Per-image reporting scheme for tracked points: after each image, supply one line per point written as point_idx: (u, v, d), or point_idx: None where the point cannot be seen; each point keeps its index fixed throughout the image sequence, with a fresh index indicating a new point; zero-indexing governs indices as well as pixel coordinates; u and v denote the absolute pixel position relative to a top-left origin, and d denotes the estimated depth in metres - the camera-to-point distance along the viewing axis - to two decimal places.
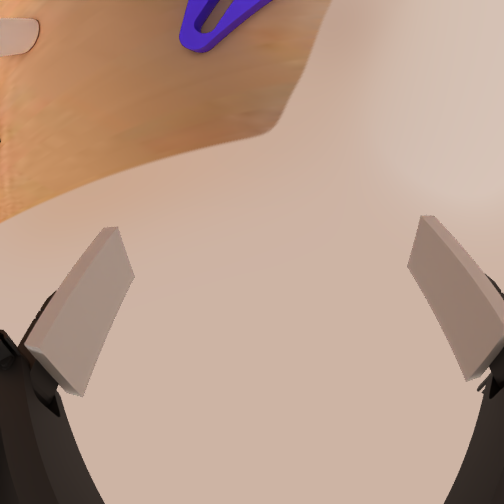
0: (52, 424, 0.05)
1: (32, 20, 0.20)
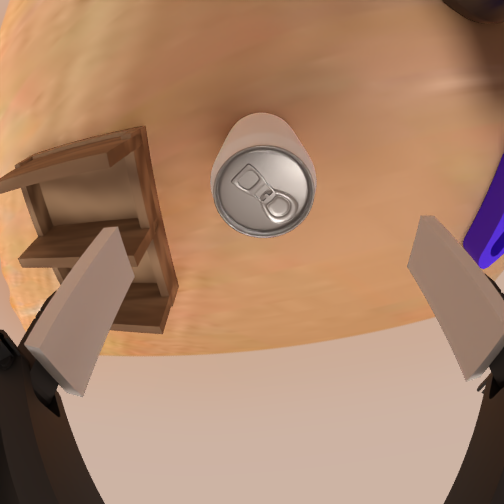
0: (52, 424, 0.05)
1: None
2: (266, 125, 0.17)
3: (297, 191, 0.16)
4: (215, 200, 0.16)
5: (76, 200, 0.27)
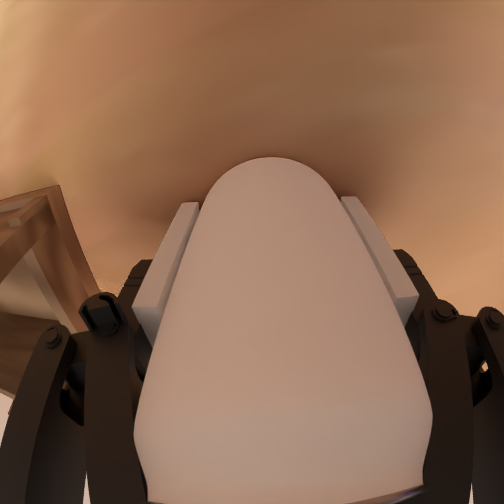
0: None
1: None
2: (303, 276, 0.05)
3: None
4: None
5: (1, 288, 0.15)
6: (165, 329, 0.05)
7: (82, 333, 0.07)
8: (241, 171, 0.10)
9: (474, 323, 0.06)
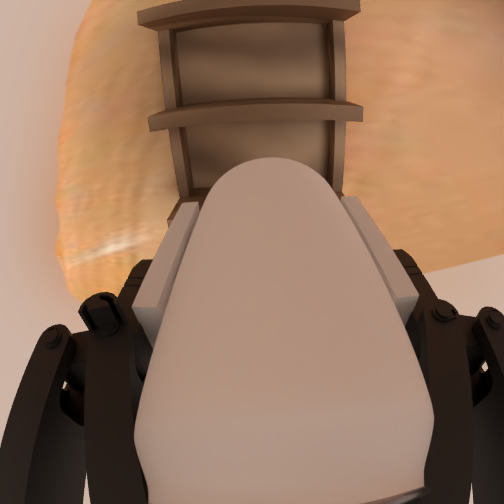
0: None
1: None
2: (304, 278, 0.05)
3: None
4: None
5: (234, 71, 0.22)
6: (165, 331, 0.05)
7: (82, 333, 0.07)
8: (241, 171, 0.10)
9: (474, 323, 0.06)
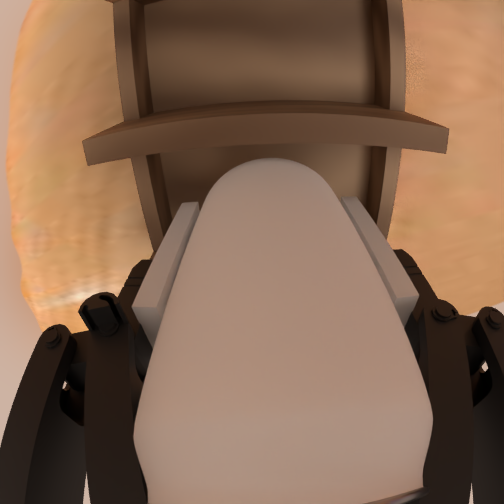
0: None
1: None
2: (304, 279, 0.05)
3: None
4: None
5: (231, 58, 0.14)
6: (165, 331, 0.05)
7: (82, 333, 0.07)
8: (241, 172, 0.10)
9: (474, 323, 0.06)
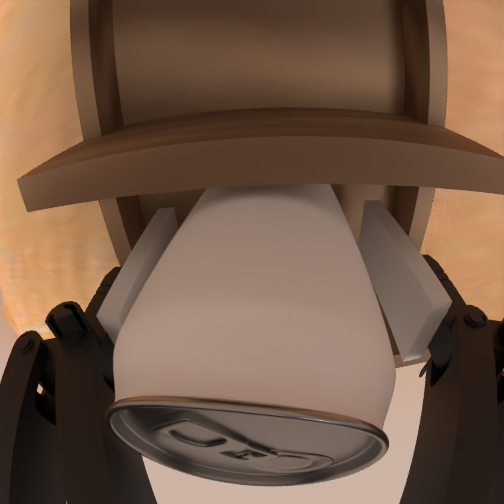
0: None
1: (329, 185, 0.12)
2: (269, 221, 0.06)
3: (337, 450, 0.04)
4: (126, 443, 0.05)
5: (220, 52, 0.10)
6: (155, 267, 0.06)
7: (54, 339, 0.07)
8: None
9: (500, 326, 0.06)
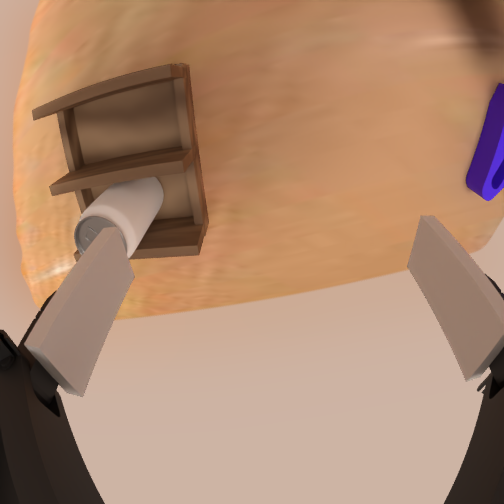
0: (52, 424, 0.05)
1: (153, 181, 0.31)
2: (109, 193, 0.24)
3: None
4: (77, 248, 0.23)
5: (113, 134, 0.29)
6: None
7: None
8: None
9: None
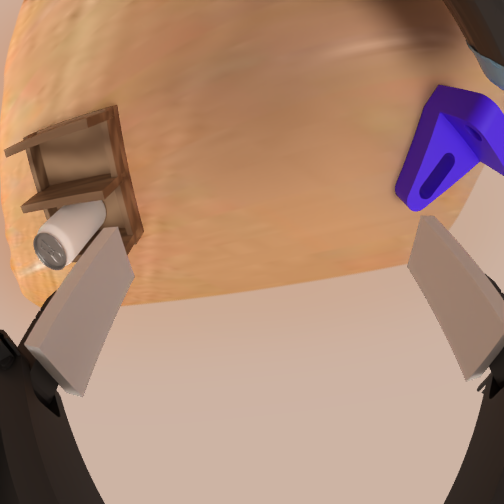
0: (52, 424, 0.05)
1: None
2: (57, 214, 0.30)
3: (60, 250, 0.29)
4: None
5: (67, 163, 0.34)
6: None
7: None
8: None
9: None
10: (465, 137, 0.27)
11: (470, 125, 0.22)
